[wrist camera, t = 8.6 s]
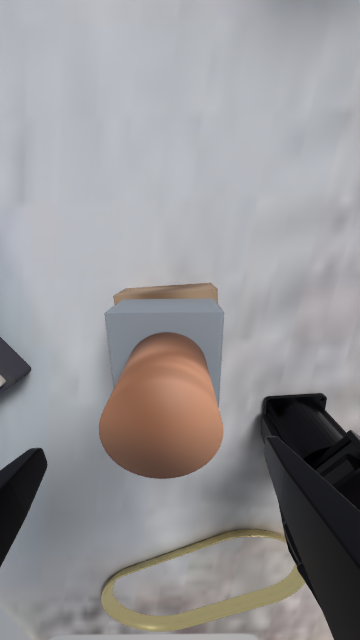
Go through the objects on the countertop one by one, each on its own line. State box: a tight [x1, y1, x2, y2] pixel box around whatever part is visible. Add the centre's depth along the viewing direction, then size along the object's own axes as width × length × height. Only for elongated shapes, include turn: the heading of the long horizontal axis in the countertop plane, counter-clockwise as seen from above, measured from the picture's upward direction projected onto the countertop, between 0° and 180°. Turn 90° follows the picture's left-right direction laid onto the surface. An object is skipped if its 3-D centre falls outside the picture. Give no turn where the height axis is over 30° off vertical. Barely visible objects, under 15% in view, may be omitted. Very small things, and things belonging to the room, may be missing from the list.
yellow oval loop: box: [101, 529, 305, 631], centre depth 33 cm, size 19×35×2 cm, turn 120°
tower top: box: [105, 298, 224, 408], centre depth 15 cm, size 7×7×4 cm
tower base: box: [113, 283, 218, 305], centre depth 19 cm, size 8×8×4 cm
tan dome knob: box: [99, 332, 223, 479], centre depth 11 cm, size 5×5×5 cm
